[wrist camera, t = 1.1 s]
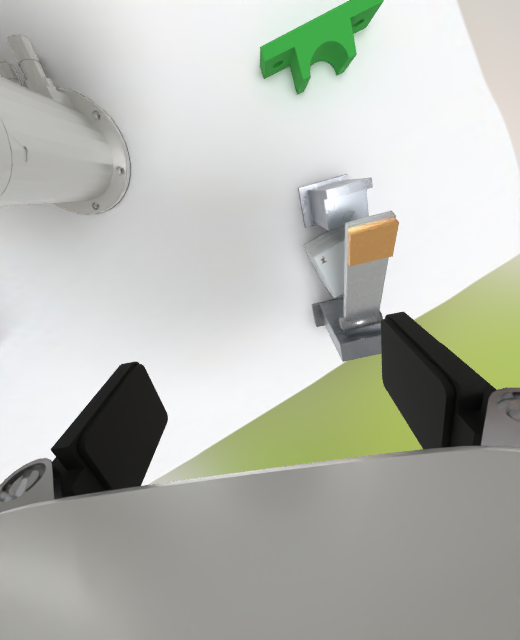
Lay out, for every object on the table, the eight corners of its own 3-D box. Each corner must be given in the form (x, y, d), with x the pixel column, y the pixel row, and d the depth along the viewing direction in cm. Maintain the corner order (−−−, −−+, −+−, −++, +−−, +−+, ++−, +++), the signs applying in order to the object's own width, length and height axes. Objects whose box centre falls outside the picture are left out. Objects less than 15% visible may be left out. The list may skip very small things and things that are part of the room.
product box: (320, 281, 39) (333, 300, 33) (302, 244, 37) (311, 256, 30) (360, 260, 38) (382, 275, 31) (343, 220, 36) (363, 227, 29)
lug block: (298, 188, 34) (314, 187, 24) (346, 174, 33) (383, 167, 23) (305, 226, 36) (322, 241, 26) (350, 214, 35) (385, 224, 25)
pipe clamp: (272, 107, 30) (273, 94, 26) (260, 67, 29) (259, 47, 25) (370, 59, 29) (389, 37, 24) (363, 13, 27) (381, -18, 23)
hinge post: (311, 304, 41) (331, 346, 30) (365, 292, 40) (404, 330, 29) (315, 325, 42) (335, 371, 31) (367, 313, 41) (405, 357, 31)
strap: (338, 221, 22) (345, 234, 20) (394, 206, 21) (404, 218, 20) (338, 323, 32) (343, 335, 31) (376, 315, 32) (382, 327, 30)
